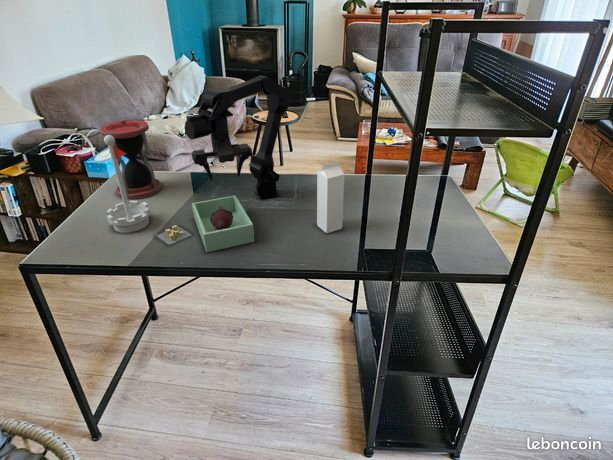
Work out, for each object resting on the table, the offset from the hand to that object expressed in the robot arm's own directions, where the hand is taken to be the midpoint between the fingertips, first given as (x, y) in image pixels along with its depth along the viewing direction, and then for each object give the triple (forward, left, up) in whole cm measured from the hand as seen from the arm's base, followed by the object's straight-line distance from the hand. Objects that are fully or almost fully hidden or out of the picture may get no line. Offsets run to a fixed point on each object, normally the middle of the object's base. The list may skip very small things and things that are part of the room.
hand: (225, 178), depth 137 cm
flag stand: (+32, -3, -12) cm, 34 cm away
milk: (-27, +25, -12) cm, 39 cm away
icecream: (+5, +13, -12) cm, 18 cm away
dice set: (+20, +10, -12) cm, 25 cm away
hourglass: (+28, -30, -12) cm, 43 cm away
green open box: (+5, +13, -12) cm, 18 cm away
